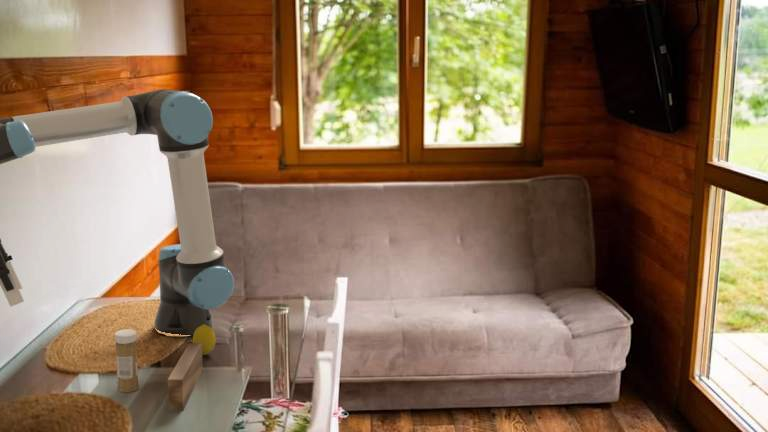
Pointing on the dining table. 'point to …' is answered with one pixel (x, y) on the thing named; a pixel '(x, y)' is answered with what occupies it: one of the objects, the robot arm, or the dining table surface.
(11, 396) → the dining table surface
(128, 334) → the sprinkles bottle
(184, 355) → the walnut board
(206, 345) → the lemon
